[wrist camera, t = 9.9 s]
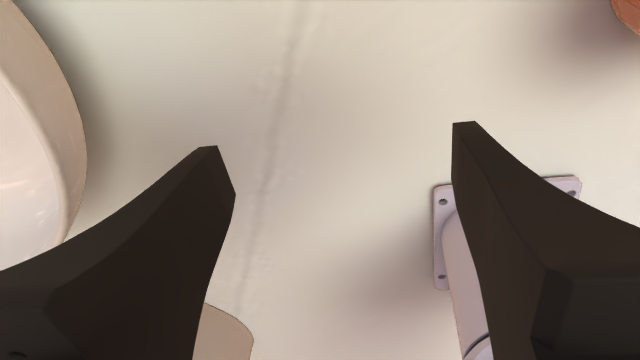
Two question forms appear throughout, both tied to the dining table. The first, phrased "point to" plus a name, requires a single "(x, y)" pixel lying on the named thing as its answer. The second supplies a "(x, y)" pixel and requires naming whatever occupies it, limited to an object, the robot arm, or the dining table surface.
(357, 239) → the dining table surface
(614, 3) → the cup
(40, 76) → the serving bowl
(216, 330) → the cream round tub
